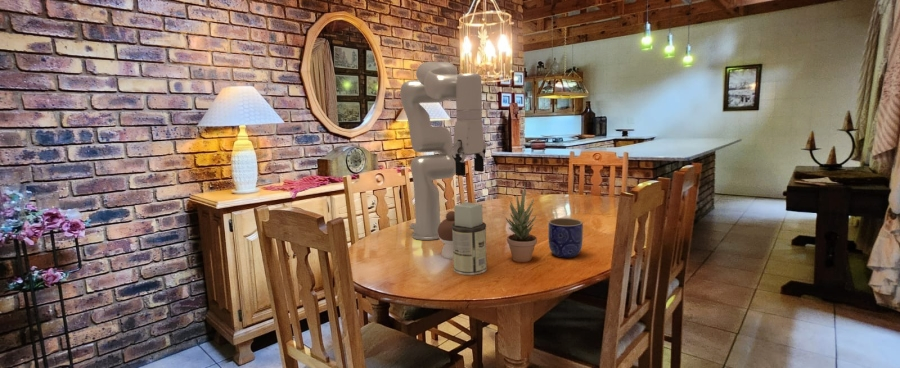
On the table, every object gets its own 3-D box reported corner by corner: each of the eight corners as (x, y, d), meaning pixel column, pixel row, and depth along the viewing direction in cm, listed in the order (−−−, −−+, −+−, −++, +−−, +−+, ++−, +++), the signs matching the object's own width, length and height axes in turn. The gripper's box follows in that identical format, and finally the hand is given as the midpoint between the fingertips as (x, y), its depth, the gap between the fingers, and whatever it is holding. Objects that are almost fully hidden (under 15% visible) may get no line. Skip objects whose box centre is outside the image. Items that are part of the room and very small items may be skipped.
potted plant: (530, 265, 140) (530, 186, 136) (502, 261, 145) (501, 185, 141) (542, 256, 148) (542, 182, 144) (515, 252, 153) (514, 180, 149)
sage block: (454, 225, 136) (454, 205, 135) (466, 221, 140) (465, 202, 140) (471, 227, 132) (471, 207, 131) (482, 223, 137) (482, 204, 136)
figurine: (438, 259, 148) (437, 215, 146) (438, 251, 158) (436, 209, 155) (468, 258, 149) (467, 213, 147) (466, 249, 158) (464, 207, 156)
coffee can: (459, 262, 145) (457, 219, 143) (490, 265, 142) (489, 221, 139) (448, 273, 135) (447, 227, 133) (481, 276, 132) (480, 229, 130)
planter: (546, 250, 155) (546, 218, 153) (578, 249, 154) (578, 217, 153) (551, 260, 144) (551, 226, 143) (586, 259, 144) (586, 225, 142)
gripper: (475, 115, 143) (475, 168, 146) (441, 117, 130) (442, 176, 133) (495, 115, 139) (495, 170, 142) (462, 117, 125) (463, 178, 128)
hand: (470, 173), depth 137 cm, fingers open, 9 cm apart
